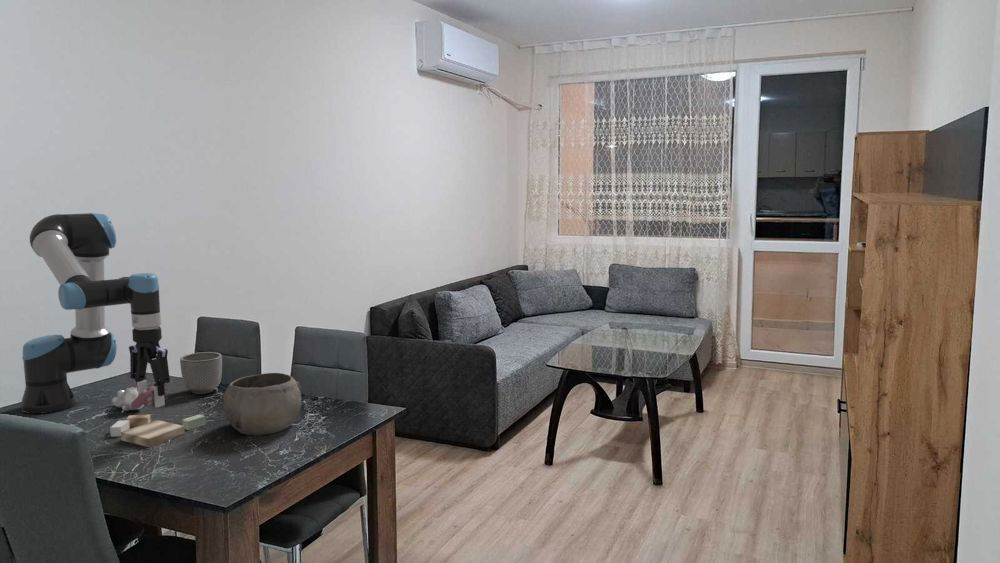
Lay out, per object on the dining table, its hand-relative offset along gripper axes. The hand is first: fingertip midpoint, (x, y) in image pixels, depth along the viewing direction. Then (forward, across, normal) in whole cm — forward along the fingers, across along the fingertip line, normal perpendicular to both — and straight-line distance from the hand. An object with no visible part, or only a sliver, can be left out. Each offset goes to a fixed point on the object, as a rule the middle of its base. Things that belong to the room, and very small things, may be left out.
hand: (151, 404), depth 208 cm
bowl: (+10, +22, +22) cm, 33 cm away
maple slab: (+10, 0, 0) cm, 10 cm away
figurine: (+10, -30, +15) cm, 35 cm away
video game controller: (0, 0, 0) cm, 1 cm away
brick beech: (+10, -13, +5) cm, 17 cm away
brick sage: (+10, +3, +12) cm, 16 cm away
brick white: (+10, -12, -2) cm, 16 cm away
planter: (+10, -24, +39) cm, 47 cm away
